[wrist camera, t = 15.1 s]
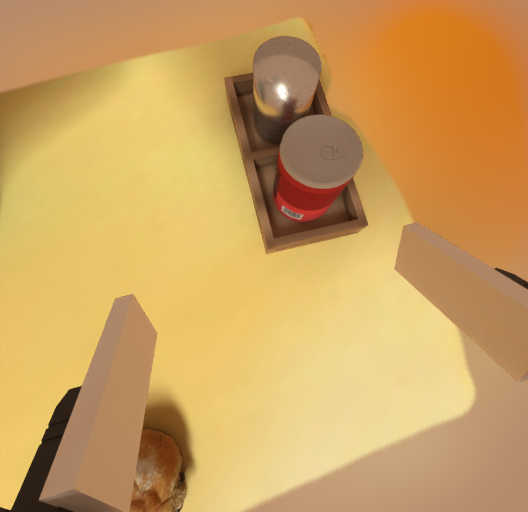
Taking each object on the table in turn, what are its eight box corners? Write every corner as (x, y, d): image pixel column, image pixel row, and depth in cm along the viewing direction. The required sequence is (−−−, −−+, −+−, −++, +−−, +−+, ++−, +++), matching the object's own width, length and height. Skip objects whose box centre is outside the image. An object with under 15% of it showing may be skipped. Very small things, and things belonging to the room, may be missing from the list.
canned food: (336, 216, 34) (375, 175, 23) (280, 230, 33) (293, 194, 23) (320, 166, 36) (349, 106, 25) (265, 179, 35) (271, 122, 24)
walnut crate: (357, 232, 35) (368, 224, 31) (266, 254, 34) (267, 248, 30) (308, 83, 39) (313, 62, 36) (227, 98, 38) (224, 78, 35)
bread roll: (166, 404, 33) (119, 408, 26) (212, 478, 28) (169, 506, 21) (109, 471, 31) (43, 493, 25) (147, 563, 26) (77, 623, 19)
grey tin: (243, 126, 36) (239, 68, 28) (273, 91, 38) (279, 25, 29) (285, 154, 36) (296, 105, 27) (315, 118, 37) (334, 59, 28)
